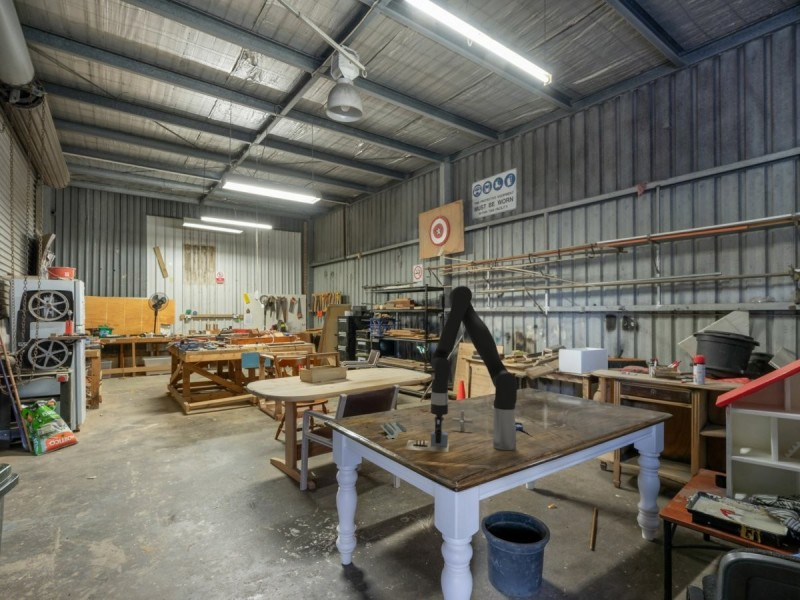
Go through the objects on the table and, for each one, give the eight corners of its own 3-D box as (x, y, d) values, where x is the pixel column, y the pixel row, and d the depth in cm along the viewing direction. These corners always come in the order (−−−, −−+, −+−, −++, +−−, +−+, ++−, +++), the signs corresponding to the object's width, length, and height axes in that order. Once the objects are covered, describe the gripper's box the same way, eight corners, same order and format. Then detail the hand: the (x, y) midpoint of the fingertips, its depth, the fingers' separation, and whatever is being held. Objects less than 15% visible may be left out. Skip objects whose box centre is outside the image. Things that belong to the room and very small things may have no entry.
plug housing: (447, 443, 174) (447, 432, 174) (447, 447, 170) (447, 435, 170) (431, 442, 175) (431, 431, 175) (430, 446, 171) (431, 434, 171)
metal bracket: (376, 421, 193) (401, 417, 201) (374, 432, 194) (399, 427, 203) (390, 437, 182) (417, 432, 190) (388, 448, 183) (415, 443, 191)
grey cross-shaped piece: (454, 427, 205) (454, 407, 205) (473, 429, 202) (473, 409, 202) (450, 432, 195) (450, 412, 196) (471, 434, 192) (471, 413, 192)
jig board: (448, 445, 176) (449, 436, 176) (448, 455, 163) (448, 445, 163) (408, 442, 179) (408, 434, 179) (404, 452, 166) (404, 443, 166)
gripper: (447, 406, 166) (446, 446, 165) (448, 399, 180) (447, 436, 179) (429, 405, 167) (428, 444, 166) (432, 398, 181) (431, 434, 180)
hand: (438, 440), depth 172 cm, fingers open, 8 cm apart
